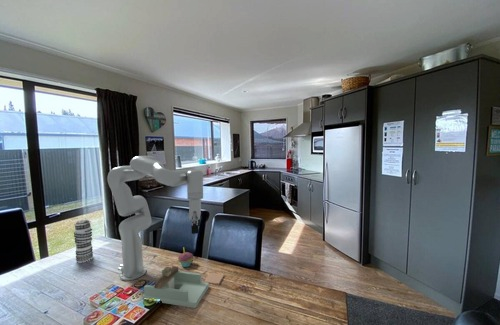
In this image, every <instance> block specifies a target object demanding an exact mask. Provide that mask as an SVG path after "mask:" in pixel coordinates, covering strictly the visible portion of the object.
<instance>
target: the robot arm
mask: <svg viewBox="0 0 500 325" xmlns="http://www.w3.org/2000/svg"><path fill="white" fill-rule="evenodd" d="M146 176H149V177H153V179H154V180H155V181H156V183H159V184H162V185H165V186H168V187H178V186H182V185H186V189H187V190H186V194H187V195H186V196H187V200H189V201H188V202H189V205H188V209H189V210H188V212H189V213H188V220H189V221H191V234H199V232H200V229H199V227H201V211H202V199H204V180H203V179H204V174H203V171H202V170H199V169H191V170H190V169H186V168H185V169H176V170H171V169H168V168H165V165H164V163H163V162H162V161H159V160H158V159H157V158H156V157H155V156H153V155H138V156H137V155H136V156H134V157H133V158H131V159H130V162H129V165H122V166H121V165H120V166H117V167H113V168H112V169H110V171H109V172H108V174H107V180H106V181H107V183H108V186H109V188H110V191H111V193H112V196H113V199H114V203H115V204H114V205H115V206H116V210H117V213H118V215H119V216H121V217H128V216H130V215H133V214H135V215H133V216H130V217H128V218H126V219H124V220H122V221H121V222H120V224H119V225H118V232H119V236H120V240H121V253H122V254H121V255H122V263H121V264H120V265H119V266H118V268H117V270H118V271H121V273H120V275H119V278H120V280H122V281H124V282H125V281H127V282H128V281H134V280H136V279H137V280H138V279H139V278H141V277H142V276H144V275H145V274H146V272H147V267H145V266H143V265H144V264H143V263H144V261H143V242H142V237H141V236H140V235H139V233H140V232H142V231H146V230H147V229H149V228H150V227H151V225H152V223H153V222H152V215H151V211H150V208H149V205H148V201H147V199H146V198H145V197H144V196H143V195H139V194H138V195H134V196H133V192H132V190H131V187H130V186H129V185H128V184H127V182H131V181H137V180H141V179H143V178H144V177H146Z"/></svg>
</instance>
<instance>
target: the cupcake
mask: <svg viewBox="0 0 500 325" xmlns="http://www.w3.org/2000/svg"><path fill="white" fill-rule="evenodd" d="M182 249H183V253H180V255H179V256H178V262H179V263H180V265H181V267H183V268H188V267H189V266H191V262H192V260H193V259H194V254H193V253H191V252H188V251H186V250H185V247H184V246H183V247H182Z"/></svg>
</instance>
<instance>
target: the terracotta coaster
mask: <svg viewBox="0 0 500 325" xmlns="http://www.w3.org/2000/svg"><path fill="white" fill-rule="evenodd" d="M224 277H225V274H224V273H215V272H210V273H209V274H208V275H207V276H206V278H205V280H203V282H205V283H209V284H214V285H216V286H217V285H218V286H219V285H220V284H221V282H222V280H223V278H224Z"/></svg>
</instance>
